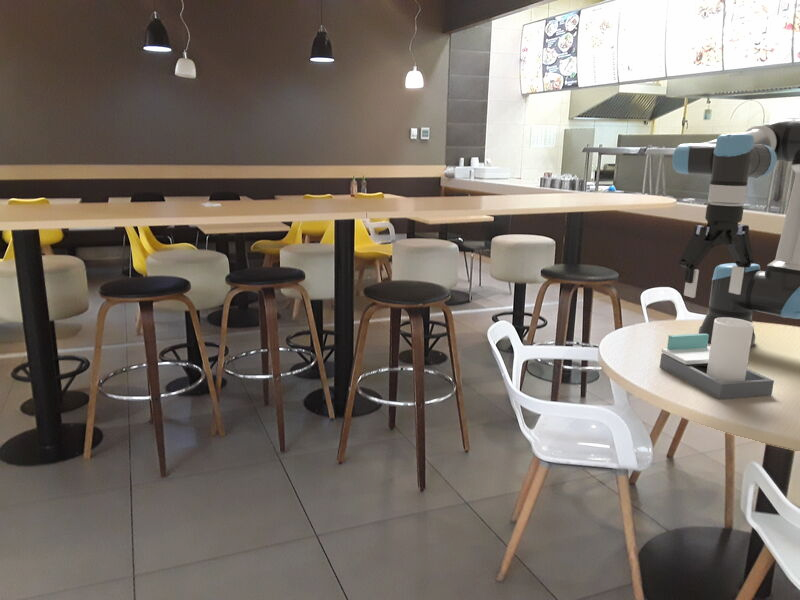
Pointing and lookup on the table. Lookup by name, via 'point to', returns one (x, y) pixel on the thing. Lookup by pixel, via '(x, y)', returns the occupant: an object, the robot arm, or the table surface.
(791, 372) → the table surface
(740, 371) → the cup
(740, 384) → the grey shallow rectangular tray
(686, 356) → the cover
